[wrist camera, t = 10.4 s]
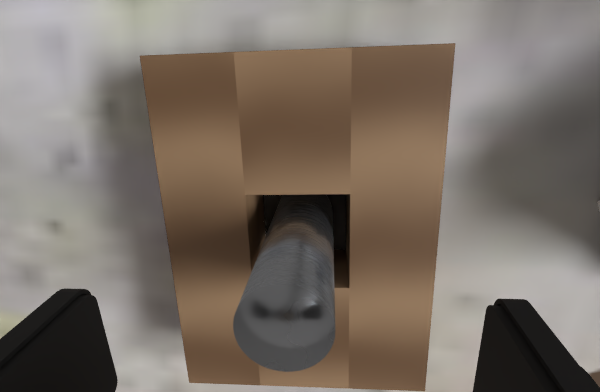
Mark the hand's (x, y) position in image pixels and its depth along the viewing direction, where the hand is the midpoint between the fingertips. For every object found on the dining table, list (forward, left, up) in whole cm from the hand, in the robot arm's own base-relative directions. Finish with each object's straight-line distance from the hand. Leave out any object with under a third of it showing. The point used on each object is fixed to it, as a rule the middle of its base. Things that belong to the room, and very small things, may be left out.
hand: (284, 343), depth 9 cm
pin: (+1, 0, -12) cm, 12 cm away
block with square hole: (+1, 0, -12) cm, 12 cm away
